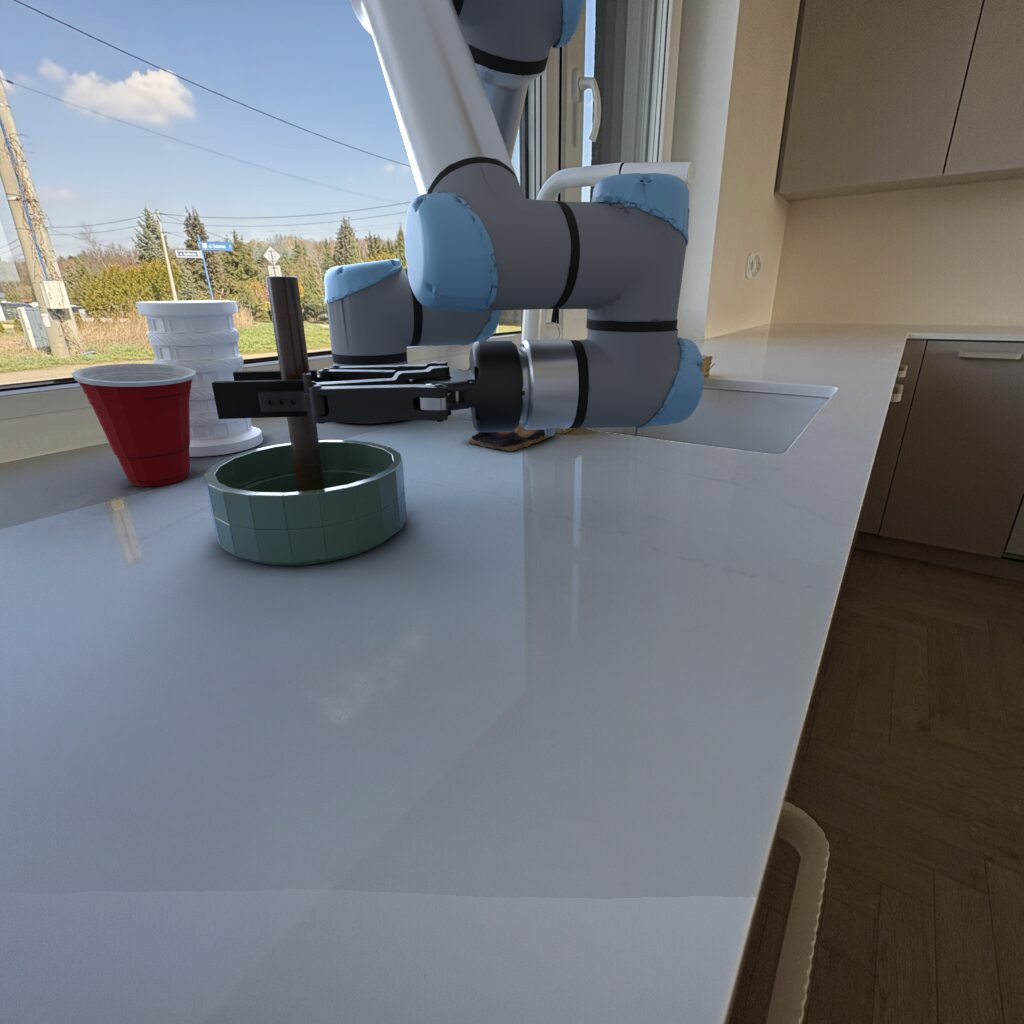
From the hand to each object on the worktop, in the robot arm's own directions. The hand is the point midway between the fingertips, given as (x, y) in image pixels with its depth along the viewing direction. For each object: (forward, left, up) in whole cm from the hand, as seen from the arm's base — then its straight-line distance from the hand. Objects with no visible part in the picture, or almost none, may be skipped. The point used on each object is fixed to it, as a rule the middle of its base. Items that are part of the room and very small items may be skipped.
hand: (228, 393), depth 45 cm
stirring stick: (-3, +5, -11) cm, 13 cm away
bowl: (-3, +5, -12) cm, 13 cm away
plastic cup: (-8, -20, -12) cm, 25 cm away
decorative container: (-21, -26, -12) cm, 36 cm away
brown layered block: (-38, +10, -12) cm, 41 cm away
